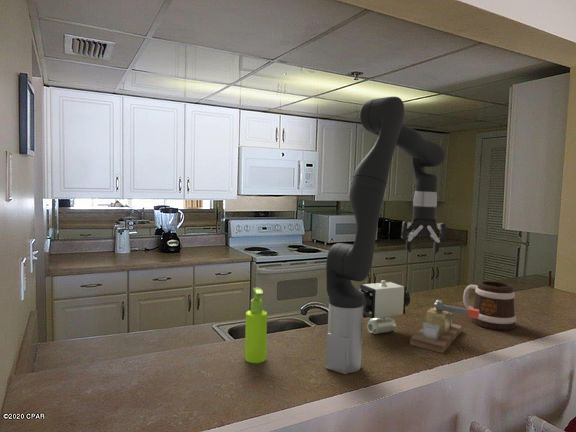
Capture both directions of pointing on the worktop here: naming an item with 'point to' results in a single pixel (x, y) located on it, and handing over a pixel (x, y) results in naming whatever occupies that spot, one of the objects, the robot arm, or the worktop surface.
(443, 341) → the valve base
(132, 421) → the worktop surface
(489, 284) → the mug
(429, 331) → the valve pipe
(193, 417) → the worktop surface
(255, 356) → the soap dispenser
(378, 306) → the ball valve
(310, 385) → the worktop surface
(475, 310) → the lever
